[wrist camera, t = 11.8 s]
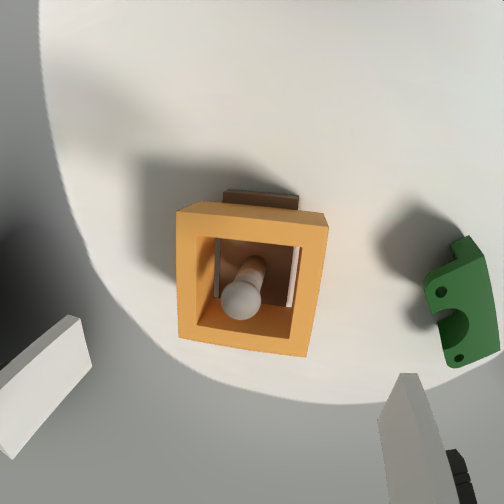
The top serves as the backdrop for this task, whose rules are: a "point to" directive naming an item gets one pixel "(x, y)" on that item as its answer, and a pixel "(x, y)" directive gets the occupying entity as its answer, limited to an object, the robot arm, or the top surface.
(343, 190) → the top surface
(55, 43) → the top surface
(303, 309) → the orange hollow square frame
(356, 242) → the top surface
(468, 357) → the clamp
